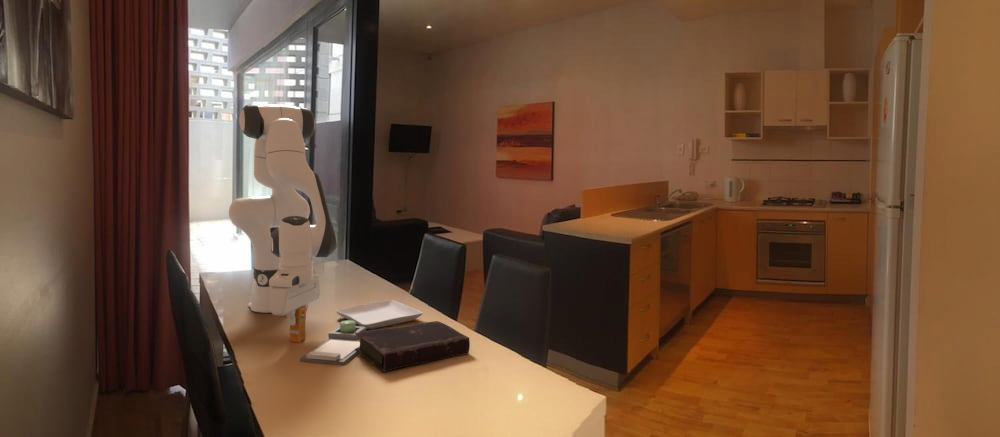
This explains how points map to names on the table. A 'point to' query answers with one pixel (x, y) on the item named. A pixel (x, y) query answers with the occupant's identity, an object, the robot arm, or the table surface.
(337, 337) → the button bezel
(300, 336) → the supplement box
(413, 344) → the diary
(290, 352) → the table surface
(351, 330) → the button
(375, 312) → the salad plate
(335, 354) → the clipboard
